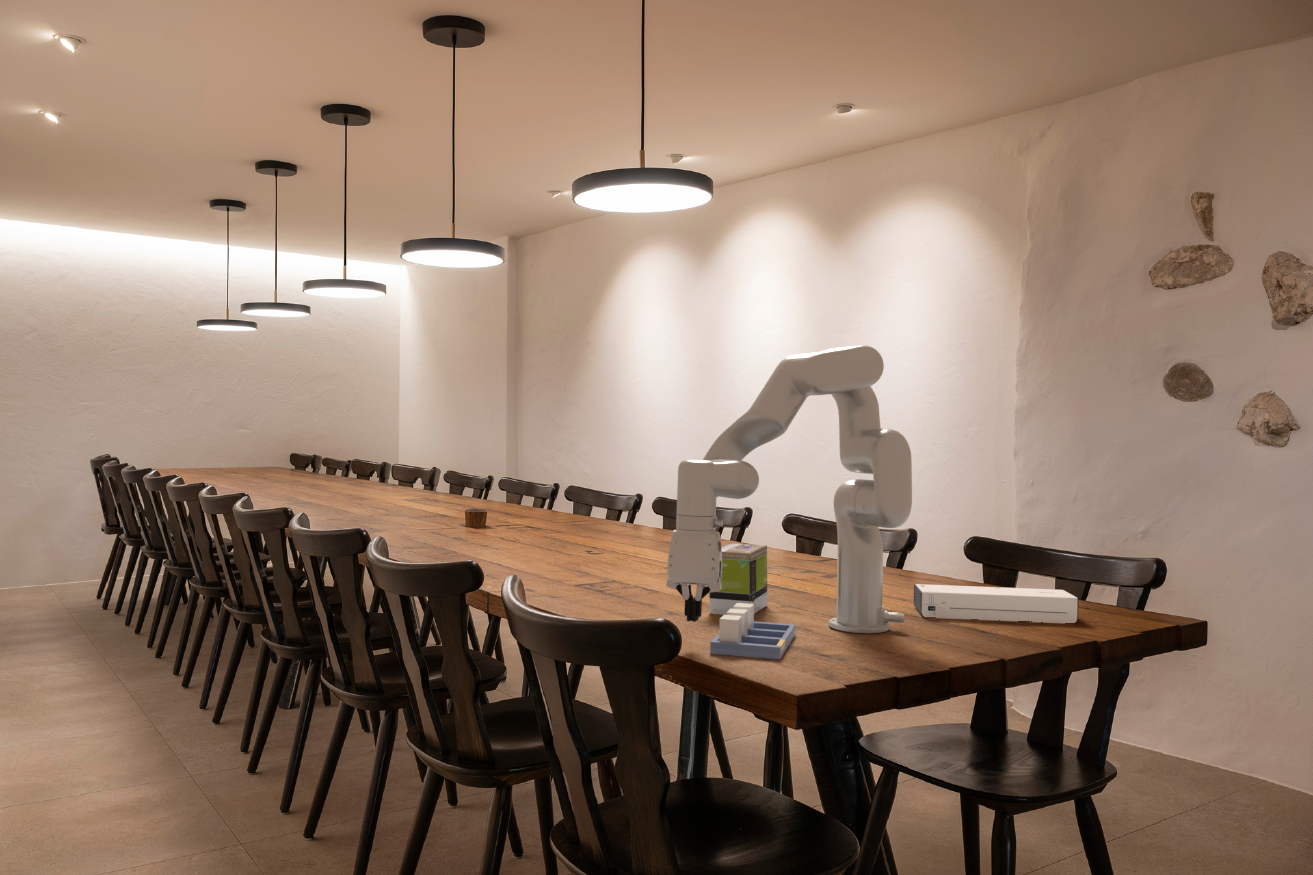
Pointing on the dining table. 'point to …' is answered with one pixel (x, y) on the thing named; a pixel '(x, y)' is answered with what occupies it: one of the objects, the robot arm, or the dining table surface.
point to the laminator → (996, 603)
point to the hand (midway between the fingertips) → (692, 619)
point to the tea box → (741, 578)
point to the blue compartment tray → (758, 641)
